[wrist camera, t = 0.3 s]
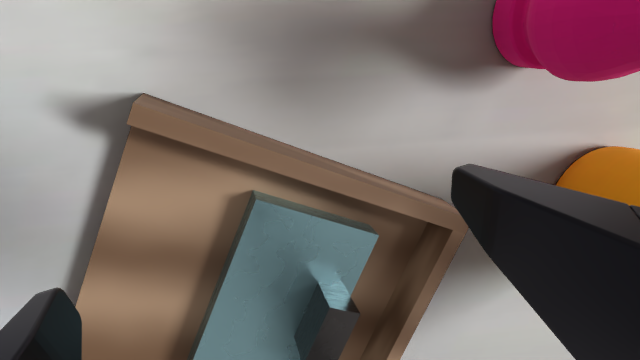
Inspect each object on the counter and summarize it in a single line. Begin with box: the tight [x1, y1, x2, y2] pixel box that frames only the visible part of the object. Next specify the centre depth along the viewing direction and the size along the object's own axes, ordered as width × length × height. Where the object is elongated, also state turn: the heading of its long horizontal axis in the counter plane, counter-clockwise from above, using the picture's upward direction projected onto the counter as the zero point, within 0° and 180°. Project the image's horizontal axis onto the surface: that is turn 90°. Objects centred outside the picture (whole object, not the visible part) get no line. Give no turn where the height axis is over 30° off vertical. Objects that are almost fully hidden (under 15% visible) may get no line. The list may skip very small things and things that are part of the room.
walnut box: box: [75, 93, 469, 360], centre depth 25 cm, size 18×20×4 cm
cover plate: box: [187, 190, 379, 360], centre depth 24 cm, size 12×8×4 cm, turn 156°
